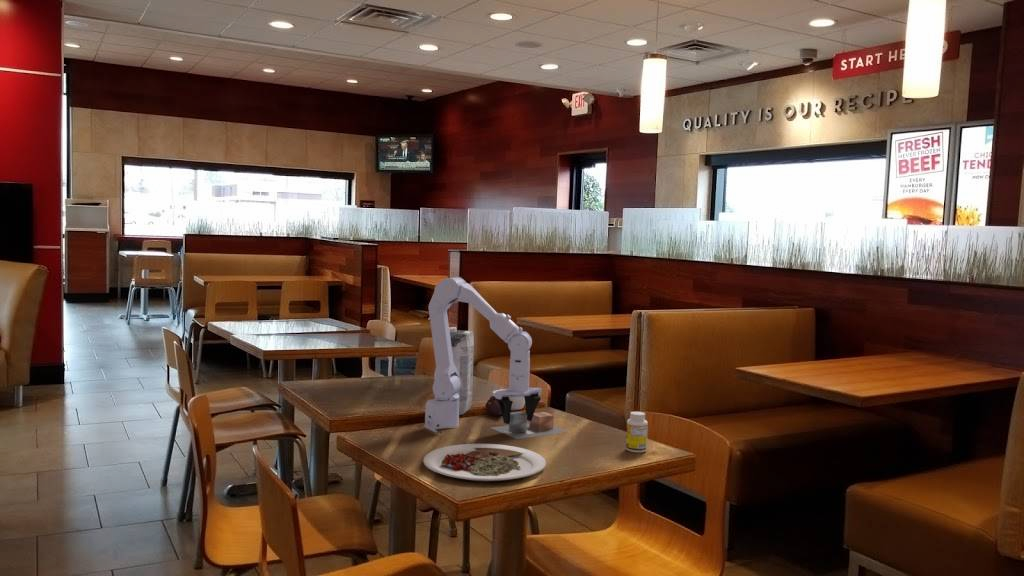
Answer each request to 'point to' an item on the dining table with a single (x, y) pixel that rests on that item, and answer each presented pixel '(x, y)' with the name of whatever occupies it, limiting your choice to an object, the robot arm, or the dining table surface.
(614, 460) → the dining table surface
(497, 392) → the robot arm
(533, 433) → the board
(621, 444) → the dining table surface
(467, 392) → the juice carton
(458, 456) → the plated food
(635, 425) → the supplement bottle
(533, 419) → the terracotta block
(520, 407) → the ramekin
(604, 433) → the dining table surface
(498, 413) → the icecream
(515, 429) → the slate cylinder
